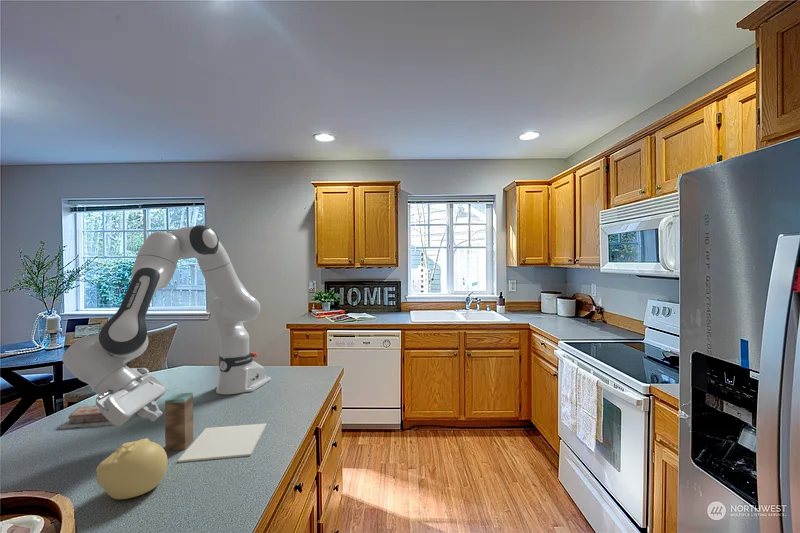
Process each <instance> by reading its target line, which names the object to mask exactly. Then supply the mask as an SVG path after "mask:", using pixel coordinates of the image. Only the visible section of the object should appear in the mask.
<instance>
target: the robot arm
mask: <svg viewBox="0 0 800 533" xmlns="http://www.w3.org/2000/svg"><path fill="white" fill-rule="evenodd" d="M144 240H145V241H144V242H143V244H142V245H141V247H140V249H139V251H138V252H137V255H136V258H135V260H134V263H133V266H132V270H131V276H130V283H129V286H128V288H127V290H126V292H125V294H124V297H123V299H122V302H121V303H120V306H119V308H118V310H117V311H116V313H115V314H113V316H112V317H111V318H109V320H107V321H106V322H105V324H104V325H103V326H102V327H101V329H100V331H99V333H98V334H97V335H91V336H81V337H80V338H78V339H77V340H75V341H73V342H72V343H71V344H70V345H69V346H68V347H67V348H66V349H65V351H64V352H63V354H62V359H61V361H62V363H63V366H65V367H66V369H67V370H68V371H69V372H71V374H72V375H73V376H75V377H76V378H77V379H78V380H79V381H81V382H83V383H86V384H87V385H88V386H89V387H90V388H91V390H92V391H93V392H94V393H95V394H97V396H96V398H95V405H97V406H98V407H99V410H100V412H101V413H102V414H103V415H104V416H105V417H106V418H107V419H108V420H109V421H110V422H111V423H112V424H113V425H112V426H116V427H121V426H122V425H124V424H125V423H126V422H127V421H129V420H130V419H132V418H133V417H135V416H136V415H138V416H139V417H142V418H145V419H148V420H150V421H151V422H155V421H157V420H158V419H159V418H160V417H161V416H162V415H163V414H164V412H163V411H162V410H160V408H159V406H158V404H157V402H156V401H158V400H159V399H160V398H161V397H162V396H164V395H165V394H166V393H167V388H166V386H165V384H164V383H162V382H161V381H160V380H159V379H158V378H156V376H154V375H152V374H149V373H150V370H148V368H147V367H138V368H135V367H129V366H127V365H126V364H128V363H129V362H131V361H133V360H135V359H136V358H138V357H139V356H141V355H142V354H144V353H145V351H146V350H147V349H148V346H149V336H148V328H147V324H146V323H147V322H146V316H147V313H148V311H149V308H150V305H151V303H152V300H153V298H154V295H155V293H156V292H157V290H160V289H163V288H165V287H167V286H168V285H169V283H170V282H171V280H172V278H173V277H174V275H175V271H176V269H177V264H178V261H179V260H185V259H186V260H187V259H193V258H195V259H196V261H197V264H198V266H199V269H200V271H201V273H202V275H203V278H204V280H205V282H206V285H207V287H208V288H209V290H210V291H211V292H213V293H214V294H215V295H216V296H215V297H214V298H212V300H211V301H210V302H209V305H208V312H209V314H210V315H211V317H212V318H213V319H214V322H215V326H216V328H217V332H218V337H219V356H218V367H219V374H218V381H217V386H216V389H215V392H216V393H217V394H218V395H219V394H220V395H235V394H236V395H237V394H242V393H250V392H254V391H256V390H257V389H258V388H259V389H260V387H262V386H264V385H266V384H268V382H270V381H272V377H270V376H269V375H266V369H265V367H264V366H263V365H261V364H260V363H257V362H256V361H255V360H254V359H253V358H257V357H258V353H257V352H256V351H255V352H254V351H252V352H250V334H249V332H248V331H247V329H246V328H245V326H244V324H243V323H249V322H252V321H255V320H256V319H257V318H258V317H259V315H260V313H261V311H262V310H261V308H262V307H261V304H260V302H259V300H258V299H257V298H255V297H253V295H251V294H250V292H249V291H248V290H247V288H246V287H245V286H244V284H243V283H242V282H241V280H240V279H239V277H238V274H237V272H236V270H235V268H234V265H233V263H232V262H231V259H230V257H229V254H228V252H227V251H226V249H225V247H224V246H223V244H222V243H221V241H220V240H219V237H218V234H217V232H216V231H215V230H214V228H212V227H211V226H209V225H206V224H205V225H203V224H202V225H201V224H198V225H193V226H192V225H191V226H185V227H180V228H178V229H175V230H172V231H160V230H159V231H154V232H151V234H149V235H148V236H147V238H146V239H144Z"/></svg>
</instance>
